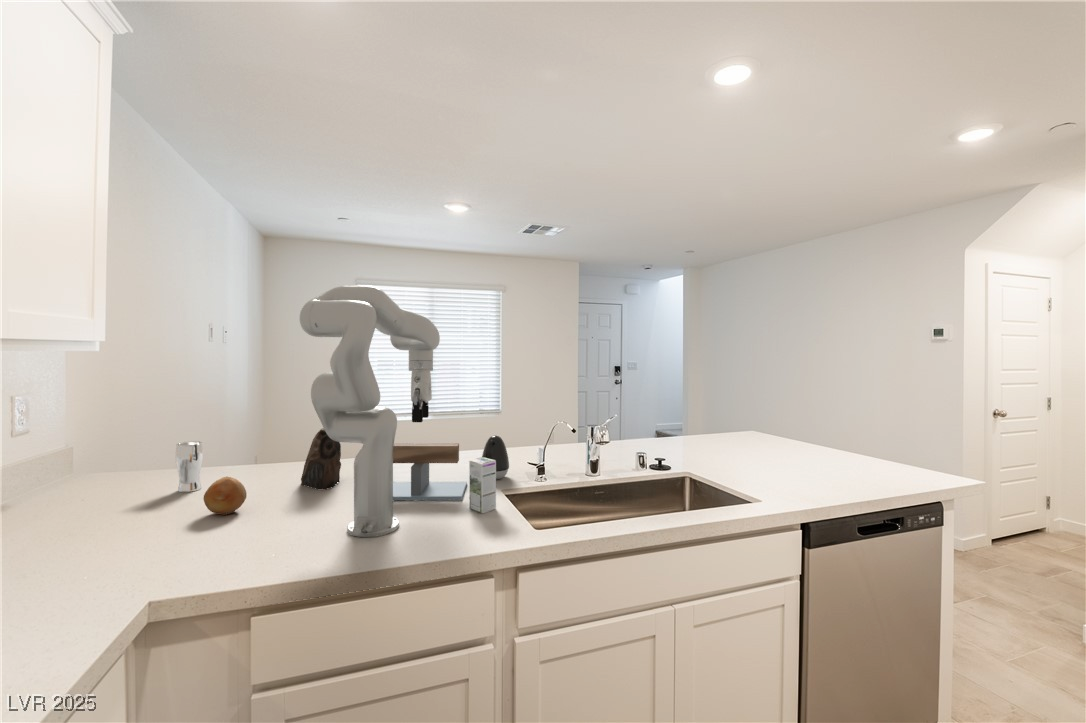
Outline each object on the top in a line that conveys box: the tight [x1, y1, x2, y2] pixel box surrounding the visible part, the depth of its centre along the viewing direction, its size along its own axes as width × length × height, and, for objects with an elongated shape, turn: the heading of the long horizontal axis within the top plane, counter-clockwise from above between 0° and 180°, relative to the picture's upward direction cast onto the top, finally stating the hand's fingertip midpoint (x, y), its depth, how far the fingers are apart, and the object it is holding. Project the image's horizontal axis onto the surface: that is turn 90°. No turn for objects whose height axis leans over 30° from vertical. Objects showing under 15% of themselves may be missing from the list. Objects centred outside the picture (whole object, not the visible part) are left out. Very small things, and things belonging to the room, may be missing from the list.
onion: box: [203, 476, 247, 516], centre depth 134 cm, size 10×10×10 cm
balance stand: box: [393, 463, 468, 501], centre depth 154 cm, size 16×28×10 cm, turn 93°
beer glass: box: [175, 440, 204, 493], centre depth 154 cm, size 7×7×15 cm
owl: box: [300, 427, 342, 490], centre depth 161 cm, size 13×13×20 cm
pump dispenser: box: [481, 435, 510, 480], centre depth 172 cm, size 10×10×15 cm
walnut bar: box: [393, 442, 460, 464], centre depth 154 cm, size 4×24×6 cm, turn 93°
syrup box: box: [468, 456, 497, 514], centre depth 139 cm, size 6×6×14 cm
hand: (420, 419), depth 153 cm, fingers open, 9 cm apart
